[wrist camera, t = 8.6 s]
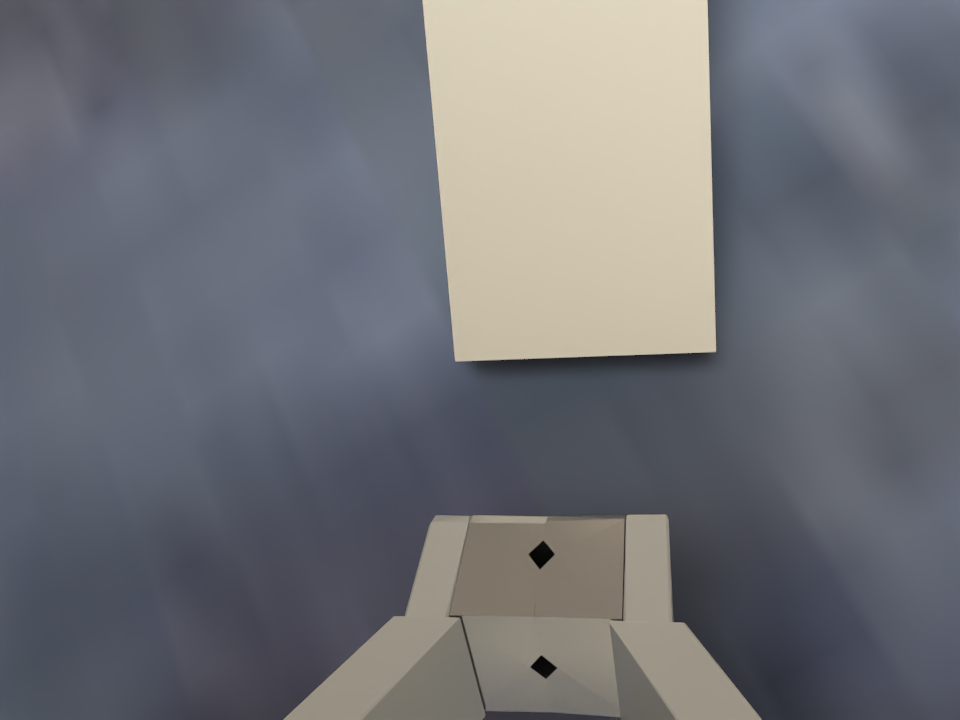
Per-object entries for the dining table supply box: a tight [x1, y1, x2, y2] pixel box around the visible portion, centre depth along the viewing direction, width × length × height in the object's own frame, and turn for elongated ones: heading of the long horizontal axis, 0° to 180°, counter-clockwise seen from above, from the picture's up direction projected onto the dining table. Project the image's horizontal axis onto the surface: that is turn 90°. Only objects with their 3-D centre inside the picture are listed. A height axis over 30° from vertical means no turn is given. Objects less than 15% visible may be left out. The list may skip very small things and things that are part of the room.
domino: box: [423, 0, 716, 361], centre depth 16 cm, size 2×5×9 cm
